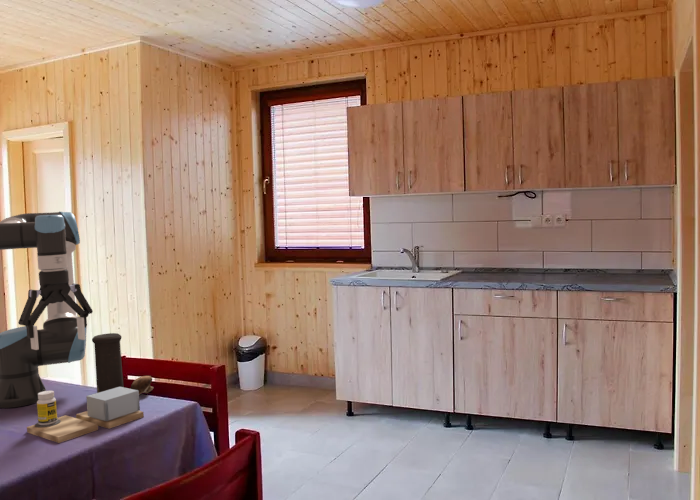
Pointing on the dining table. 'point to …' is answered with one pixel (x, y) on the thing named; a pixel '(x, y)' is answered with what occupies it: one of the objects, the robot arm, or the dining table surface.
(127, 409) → the cover
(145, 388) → the mushroom
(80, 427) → the board
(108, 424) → the pattern board
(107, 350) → the container
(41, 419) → the supplement bottle
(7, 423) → the dining table surface
